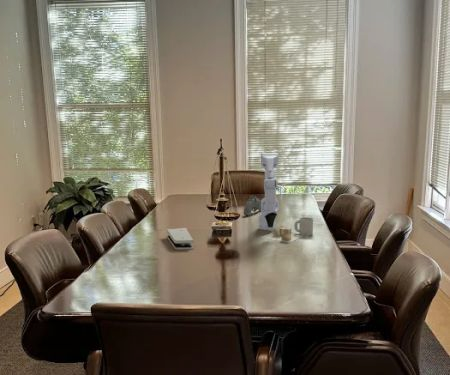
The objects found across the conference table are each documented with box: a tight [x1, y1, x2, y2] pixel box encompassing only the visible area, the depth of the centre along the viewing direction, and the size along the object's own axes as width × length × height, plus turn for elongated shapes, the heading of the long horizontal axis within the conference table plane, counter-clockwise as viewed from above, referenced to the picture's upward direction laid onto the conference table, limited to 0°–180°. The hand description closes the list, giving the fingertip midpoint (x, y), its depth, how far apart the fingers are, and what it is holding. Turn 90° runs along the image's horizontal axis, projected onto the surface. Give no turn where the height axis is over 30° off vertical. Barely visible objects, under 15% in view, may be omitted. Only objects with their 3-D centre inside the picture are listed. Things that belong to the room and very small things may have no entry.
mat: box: [259, 231, 304, 243], centre depth 229 cm, size 18×16×1 cm
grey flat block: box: [166, 227, 194, 250], centre depth 221 cm, size 26×11×5 cm, turn 13°
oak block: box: [281, 226, 292, 241], centre depth 222 cm, size 4×4×6 cm
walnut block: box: [272, 225, 285, 237], centre depth 233 cm, size 4×4×8 cm
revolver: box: [243, 195, 262, 217], centre depth 292 cm, size 5×22×15 cm, turn 148°
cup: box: [293, 216, 314, 237], centre depth 234 cm, size 7×10×9 cm
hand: (270, 227), depth 224 cm, fingers closed
